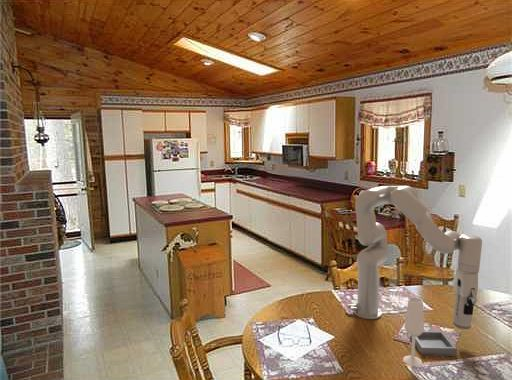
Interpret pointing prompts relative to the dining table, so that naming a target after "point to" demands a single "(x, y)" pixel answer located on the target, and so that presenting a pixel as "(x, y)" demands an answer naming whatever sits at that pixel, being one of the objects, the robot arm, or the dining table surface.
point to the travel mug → (461, 311)
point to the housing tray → (434, 344)
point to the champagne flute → (414, 327)
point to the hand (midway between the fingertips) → (463, 309)
